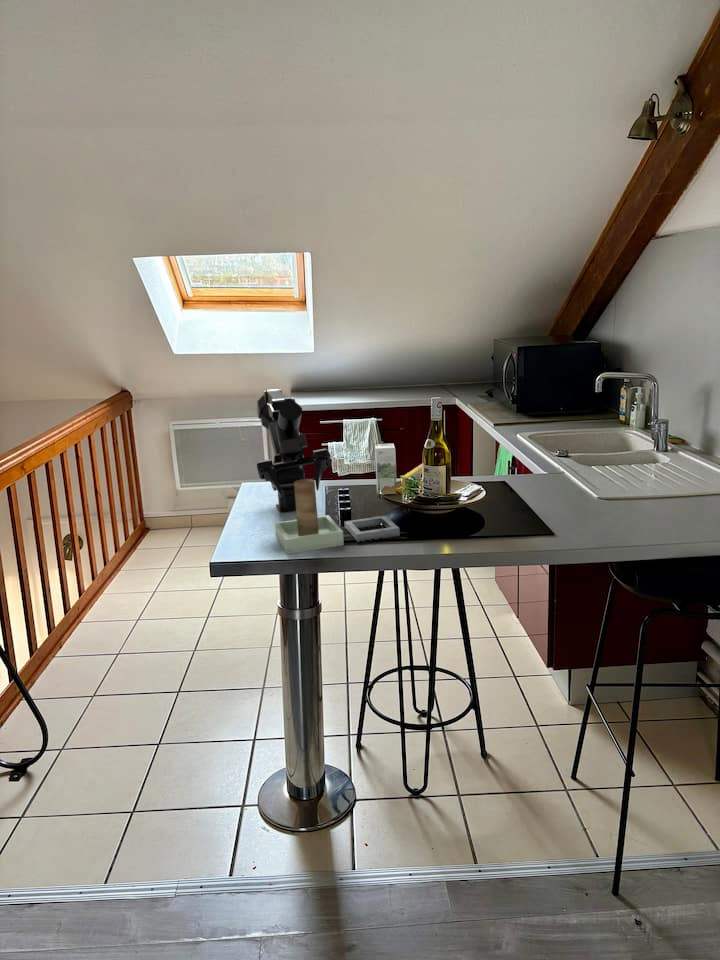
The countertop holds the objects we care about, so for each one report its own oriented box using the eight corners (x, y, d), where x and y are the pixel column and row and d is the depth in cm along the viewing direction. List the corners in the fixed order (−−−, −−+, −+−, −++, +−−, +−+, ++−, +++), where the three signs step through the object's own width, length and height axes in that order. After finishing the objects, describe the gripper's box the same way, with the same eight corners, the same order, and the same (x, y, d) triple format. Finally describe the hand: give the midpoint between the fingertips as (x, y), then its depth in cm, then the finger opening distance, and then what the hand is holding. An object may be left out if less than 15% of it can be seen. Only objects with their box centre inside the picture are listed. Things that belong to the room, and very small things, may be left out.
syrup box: (395, 489, 223) (393, 442, 220) (397, 495, 218) (395, 446, 214) (376, 490, 223) (374, 443, 219) (377, 496, 217) (375, 447, 214)
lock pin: (301, 532, 186) (297, 479, 182) (321, 533, 185) (317, 479, 181) (296, 539, 181) (291, 484, 178) (315, 540, 180) (311, 484, 177)
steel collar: (344, 528, 190) (344, 521, 190) (385, 522, 193) (385, 515, 193) (357, 542, 180) (356, 534, 180) (399, 535, 183) (399, 528, 183)
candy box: (408, 505, 207) (407, 477, 205) (401, 505, 208) (400, 476, 206) (428, 490, 221) (427, 463, 219) (421, 489, 222) (420, 462, 220)
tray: (275, 535, 188) (274, 522, 187) (329, 527, 192) (328, 515, 191) (286, 553, 175) (285, 539, 174) (343, 545, 179) (342, 531, 178)
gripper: (249, 432, 187) (259, 487, 180) (322, 418, 188) (334, 472, 182) (255, 452, 197) (265, 505, 190) (325, 439, 198) (336, 491, 192)
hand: (299, 493), depth 188 cm, fingers open, 9 cm apart
